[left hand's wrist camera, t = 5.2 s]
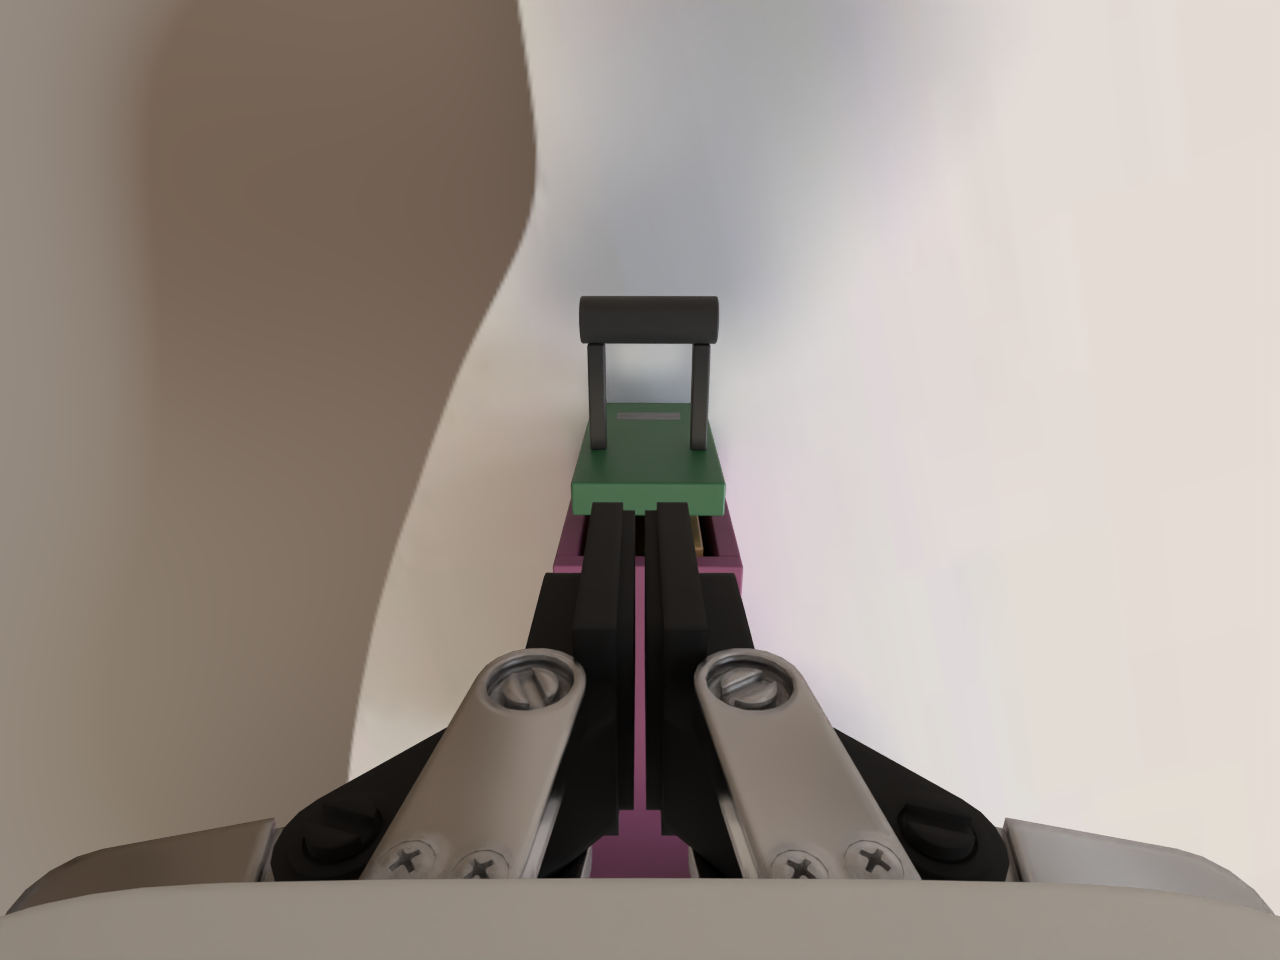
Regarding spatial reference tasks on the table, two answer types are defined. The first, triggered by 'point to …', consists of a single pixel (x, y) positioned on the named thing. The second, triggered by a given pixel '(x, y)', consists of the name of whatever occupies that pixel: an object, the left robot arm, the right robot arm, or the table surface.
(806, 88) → the table surface
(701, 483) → the drawer
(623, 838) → the tall purple box
